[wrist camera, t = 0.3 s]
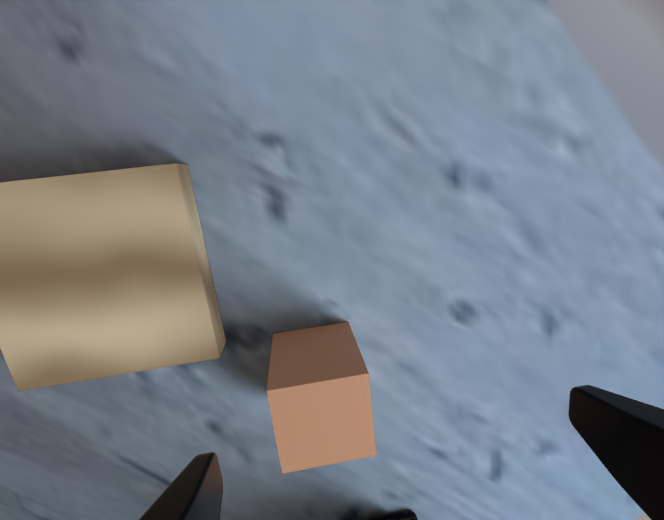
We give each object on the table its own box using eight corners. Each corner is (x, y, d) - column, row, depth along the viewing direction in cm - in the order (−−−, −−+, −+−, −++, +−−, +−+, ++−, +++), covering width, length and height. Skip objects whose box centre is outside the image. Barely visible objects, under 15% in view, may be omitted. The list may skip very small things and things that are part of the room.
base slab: (226, 341, 21) (219, 358, 19) (44, 370, 20) (18, 391, 18) (187, 164, 18) (175, 163, 16) (-27, 188, 17) (-67, 189, 15)
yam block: (355, 386, 23) (376, 455, 18) (284, 398, 23) (282, 473, 17) (348, 321, 22) (368, 373, 16) (273, 333, 22) (266, 390, 16)
